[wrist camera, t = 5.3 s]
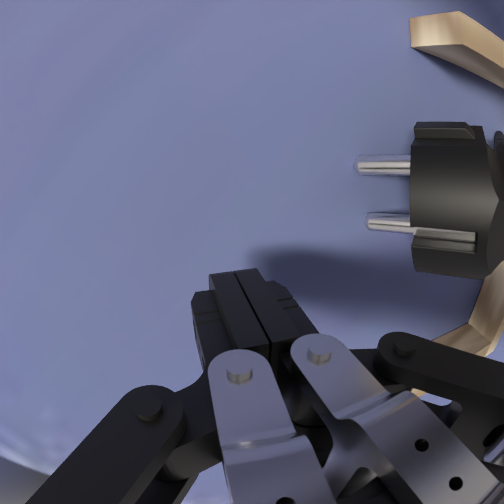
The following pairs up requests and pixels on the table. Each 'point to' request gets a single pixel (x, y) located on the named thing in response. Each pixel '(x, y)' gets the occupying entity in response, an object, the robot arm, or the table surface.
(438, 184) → the power plug
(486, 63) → the bracket
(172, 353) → the table surface
